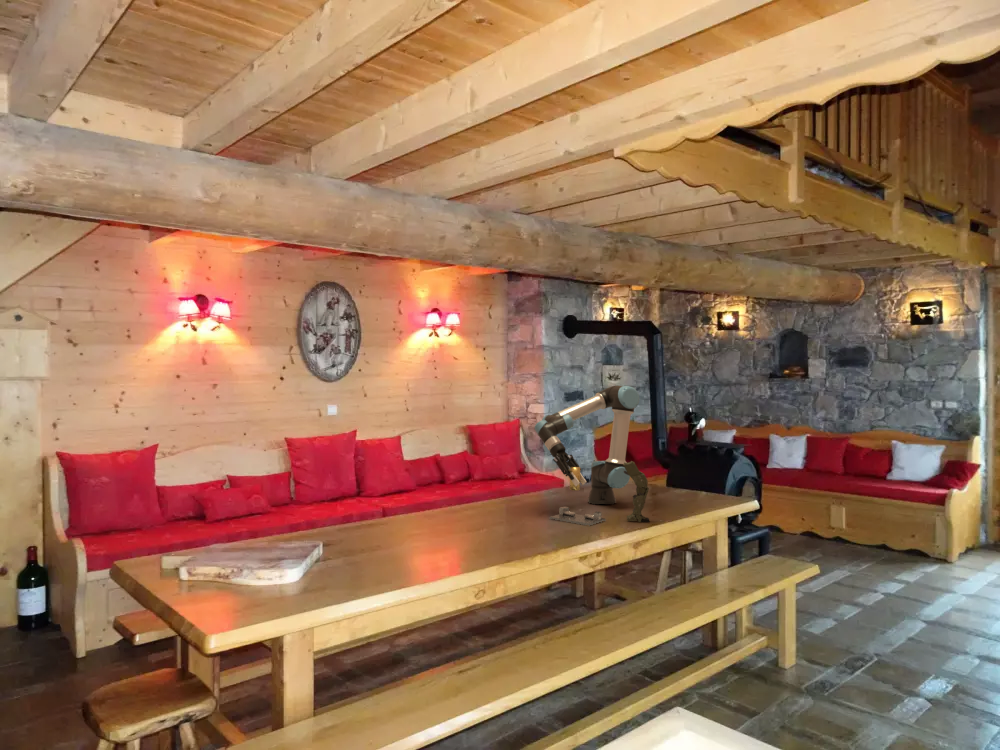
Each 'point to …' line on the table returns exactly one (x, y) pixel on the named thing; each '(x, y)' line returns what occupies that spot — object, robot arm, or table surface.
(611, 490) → the robot arm
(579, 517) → the bed plate
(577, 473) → the orange glossy cylinder
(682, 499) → the table surface
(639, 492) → the mechanical leg
